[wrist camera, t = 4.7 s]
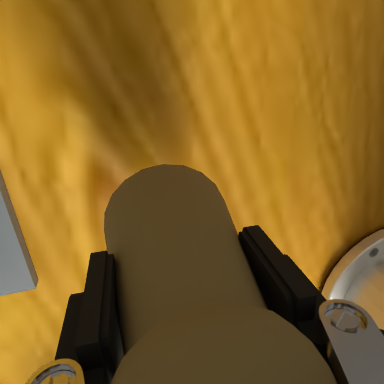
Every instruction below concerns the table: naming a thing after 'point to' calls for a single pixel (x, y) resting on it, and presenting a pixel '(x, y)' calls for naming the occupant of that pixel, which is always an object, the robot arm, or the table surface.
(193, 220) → the cork
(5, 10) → the table surface
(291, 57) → the table surface
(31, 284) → the socket
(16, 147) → the table surface
